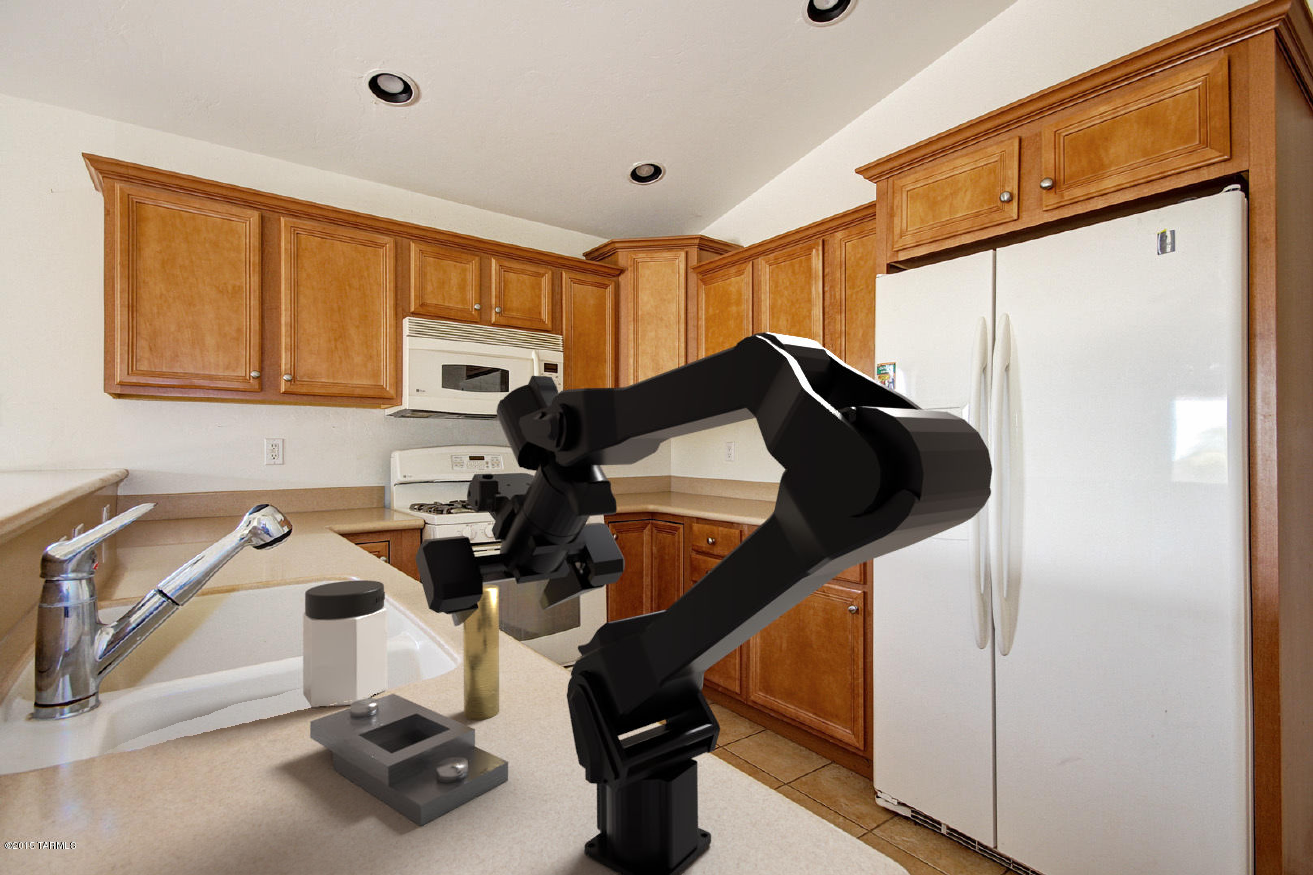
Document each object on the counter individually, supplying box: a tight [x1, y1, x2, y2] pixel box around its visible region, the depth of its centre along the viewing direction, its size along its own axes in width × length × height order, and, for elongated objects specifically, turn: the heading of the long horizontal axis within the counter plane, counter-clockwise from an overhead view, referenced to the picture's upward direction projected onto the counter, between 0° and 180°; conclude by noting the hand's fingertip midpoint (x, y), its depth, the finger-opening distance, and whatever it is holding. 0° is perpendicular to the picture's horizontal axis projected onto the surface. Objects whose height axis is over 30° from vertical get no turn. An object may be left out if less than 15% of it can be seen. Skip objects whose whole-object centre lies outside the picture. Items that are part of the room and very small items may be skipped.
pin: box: [462, 584, 500, 721], centre depth 66 cm, size 4×4×13 cm
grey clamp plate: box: [309, 693, 509, 827], centre depth 55 cm, size 18×8×4 cm, turn 52°
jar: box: [302, 579, 388, 708], centre depth 72 cm, size 9×8×12 cm
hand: (500, 613), depth 62 cm, fingers open, 9 cm apart
